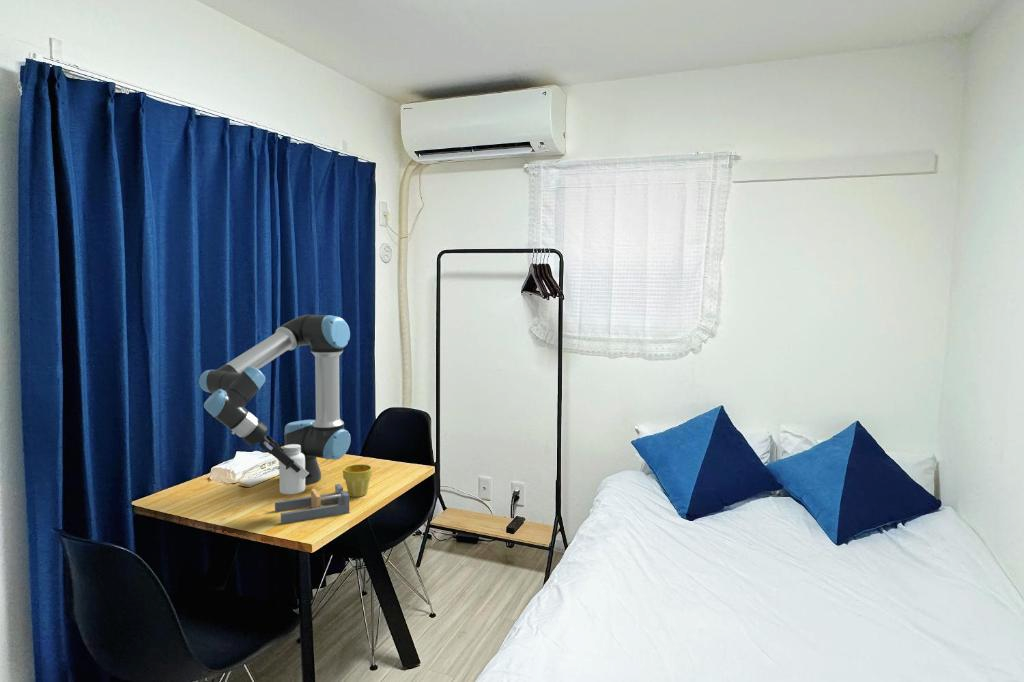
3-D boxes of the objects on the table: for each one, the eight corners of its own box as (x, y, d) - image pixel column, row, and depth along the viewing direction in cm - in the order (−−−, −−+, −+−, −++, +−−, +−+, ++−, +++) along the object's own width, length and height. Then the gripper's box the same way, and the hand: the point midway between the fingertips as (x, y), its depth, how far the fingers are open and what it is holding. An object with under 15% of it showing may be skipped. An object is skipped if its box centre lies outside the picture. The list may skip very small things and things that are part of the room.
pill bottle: (283, 486, 197) (283, 442, 196) (308, 487, 198) (308, 443, 196) (275, 494, 189) (275, 449, 188) (301, 495, 190) (301, 449, 189)
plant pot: (339, 498, 210) (339, 472, 209) (347, 489, 221) (347, 463, 220) (368, 499, 211) (368, 472, 210) (374, 489, 221) (374, 464, 220)
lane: (281, 524, 187) (281, 505, 186) (274, 510, 198) (274, 493, 197) (349, 512, 197) (349, 495, 197) (339, 500, 209) (339, 483, 208)
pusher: (316, 514, 194) (316, 497, 194) (311, 506, 202) (311, 489, 201) (347, 509, 199) (348, 492, 199) (341, 501, 207) (341, 484, 206)
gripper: (237, 431, 193) (289, 473, 202) (244, 445, 175) (301, 491, 185) (254, 414, 195) (305, 456, 205) (263, 426, 178) (318, 472, 187)
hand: (303, 472), depth 195 cm, fingers closed on pill bottle, 8 cm apart
